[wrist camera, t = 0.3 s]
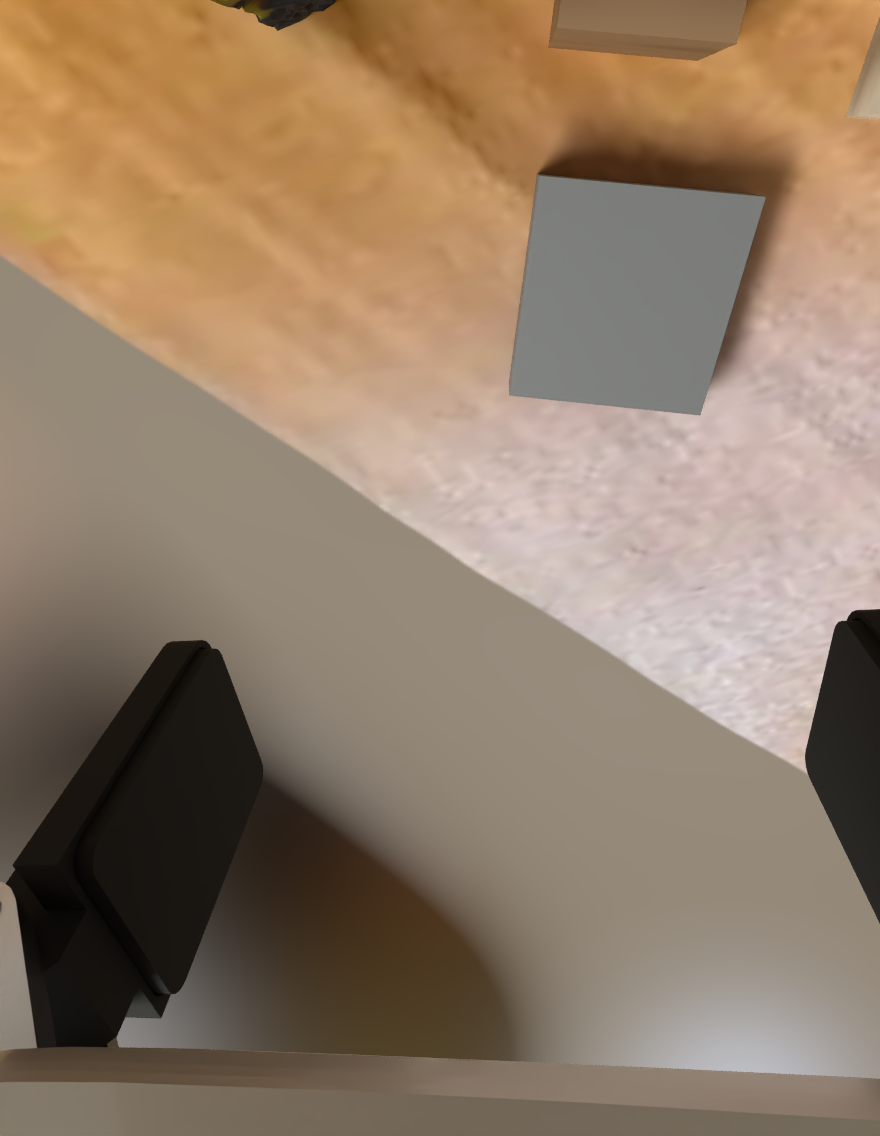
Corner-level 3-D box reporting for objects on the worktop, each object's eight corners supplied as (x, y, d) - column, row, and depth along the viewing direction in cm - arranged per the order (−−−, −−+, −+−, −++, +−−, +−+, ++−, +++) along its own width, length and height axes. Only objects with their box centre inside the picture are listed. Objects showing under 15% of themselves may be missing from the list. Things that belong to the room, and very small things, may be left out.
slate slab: (537, 173, 32) (539, 175, 30) (748, 193, 31) (766, 196, 29) (509, 381, 37) (509, 395, 35) (689, 399, 37) (700, 415, 35)
